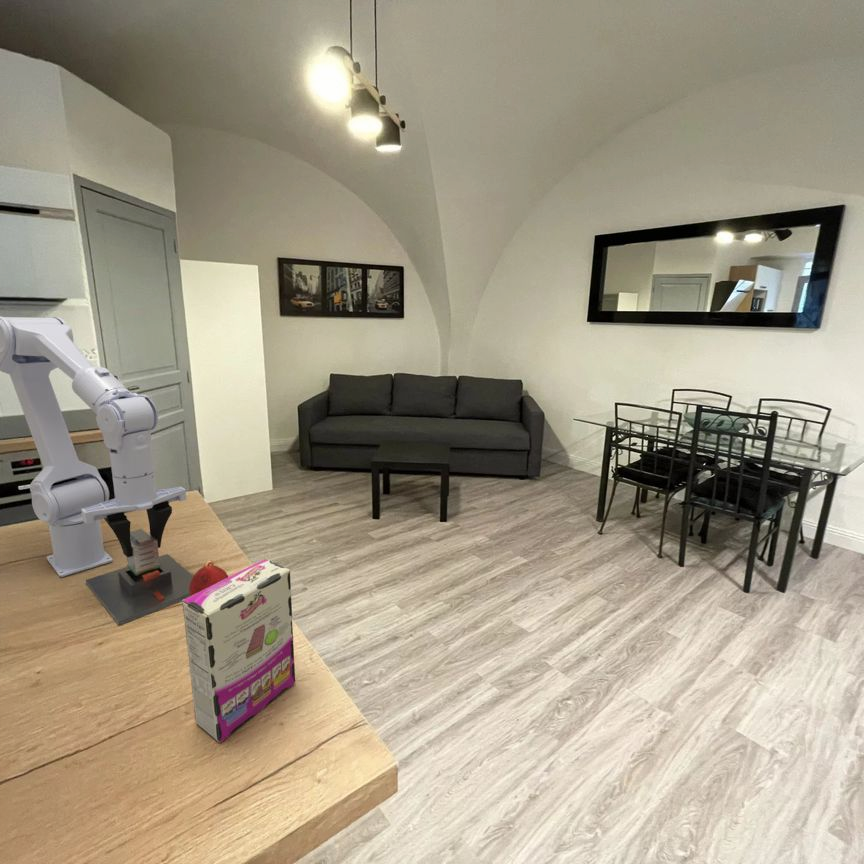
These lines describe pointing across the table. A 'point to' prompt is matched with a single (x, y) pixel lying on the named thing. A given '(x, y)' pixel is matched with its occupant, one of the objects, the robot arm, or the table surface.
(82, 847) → the table surface
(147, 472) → the robot arm
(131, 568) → the grey block
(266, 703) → the candy bar box
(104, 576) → the stand
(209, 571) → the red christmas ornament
